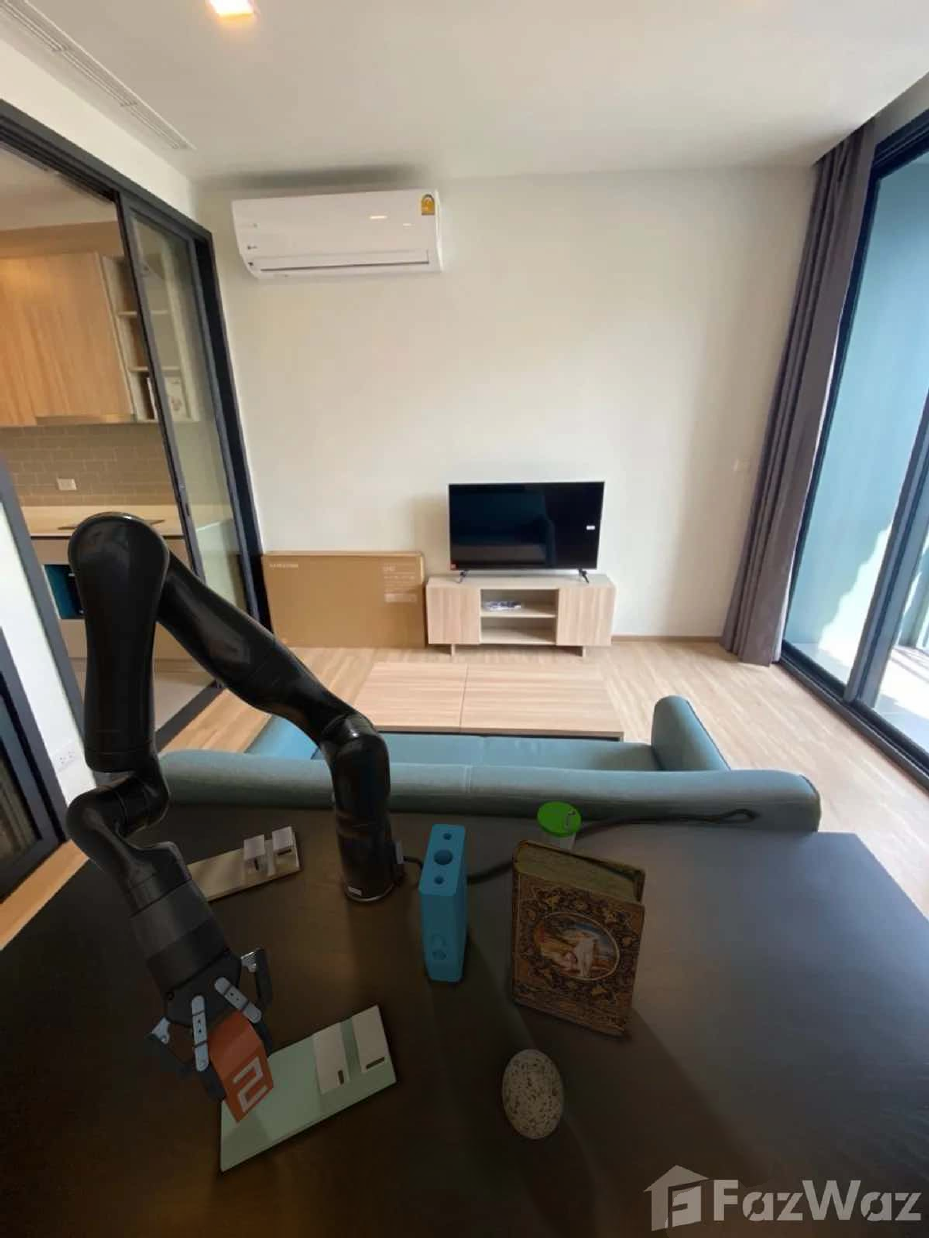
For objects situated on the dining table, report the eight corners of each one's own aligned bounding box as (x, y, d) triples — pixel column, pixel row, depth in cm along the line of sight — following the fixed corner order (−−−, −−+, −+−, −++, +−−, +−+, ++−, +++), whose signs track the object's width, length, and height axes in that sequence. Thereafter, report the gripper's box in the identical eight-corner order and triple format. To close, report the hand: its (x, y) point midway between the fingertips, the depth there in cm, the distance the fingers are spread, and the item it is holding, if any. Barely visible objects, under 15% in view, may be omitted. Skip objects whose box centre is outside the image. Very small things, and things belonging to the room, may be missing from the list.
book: (505, 998, 71) (507, 869, 62) (514, 961, 76) (517, 836, 67) (625, 1040, 66) (647, 907, 57) (626, 997, 71) (647, 868, 62)
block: (459, 995, 72) (455, 896, 64) (425, 991, 72) (417, 893, 65) (468, 918, 83) (466, 825, 75) (438, 915, 83) (433, 823, 76)
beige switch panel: (294, 835, 100) (291, 818, 98) (299, 870, 92) (296, 852, 91) (183, 870, 93) (177, 852, 91) (178, 911, 85) (172, 892, 83)
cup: (535, 840, 97) (538, 779, 92) (576, 844, 96) (581, 782, 91) (534, 874, 90) (537, 810, 85) (578, 879, 89) (584, 814, 84)
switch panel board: (378, 1009, 70) (375, 989, 68) (396, 1081, 63) (393, 1060, 61) (223, 1080, 63) (216, 1059, 61) (222, 1172, 55) (213, 1151, 54)
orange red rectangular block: (252, 1050, 62) (239, 1006, 58) (275, 1088, 58) (263, 1044, 55) (215, 1084, 59) (200, 1040, 55) (238, 1126, 55) (223, 1081, 52)
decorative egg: (571, 1143, 57) (577, 1094, 53) (511, 1162, 56) (513, 1113, 52) (548, 1069, 63) (552, 1020, 60) (494, 1084, 62) (494, 1035, 58)
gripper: (109, 982, 51) (183, 1150, 48) (244, 889, 61) (312, 1024, 58) (108, 980, 56) (174, 1132, 53) (232, 895, 66) (294, 1019, 63)
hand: (246, 1075), depth 56 cm, fingers closed on orange red rectangular block, 4 cm apart
